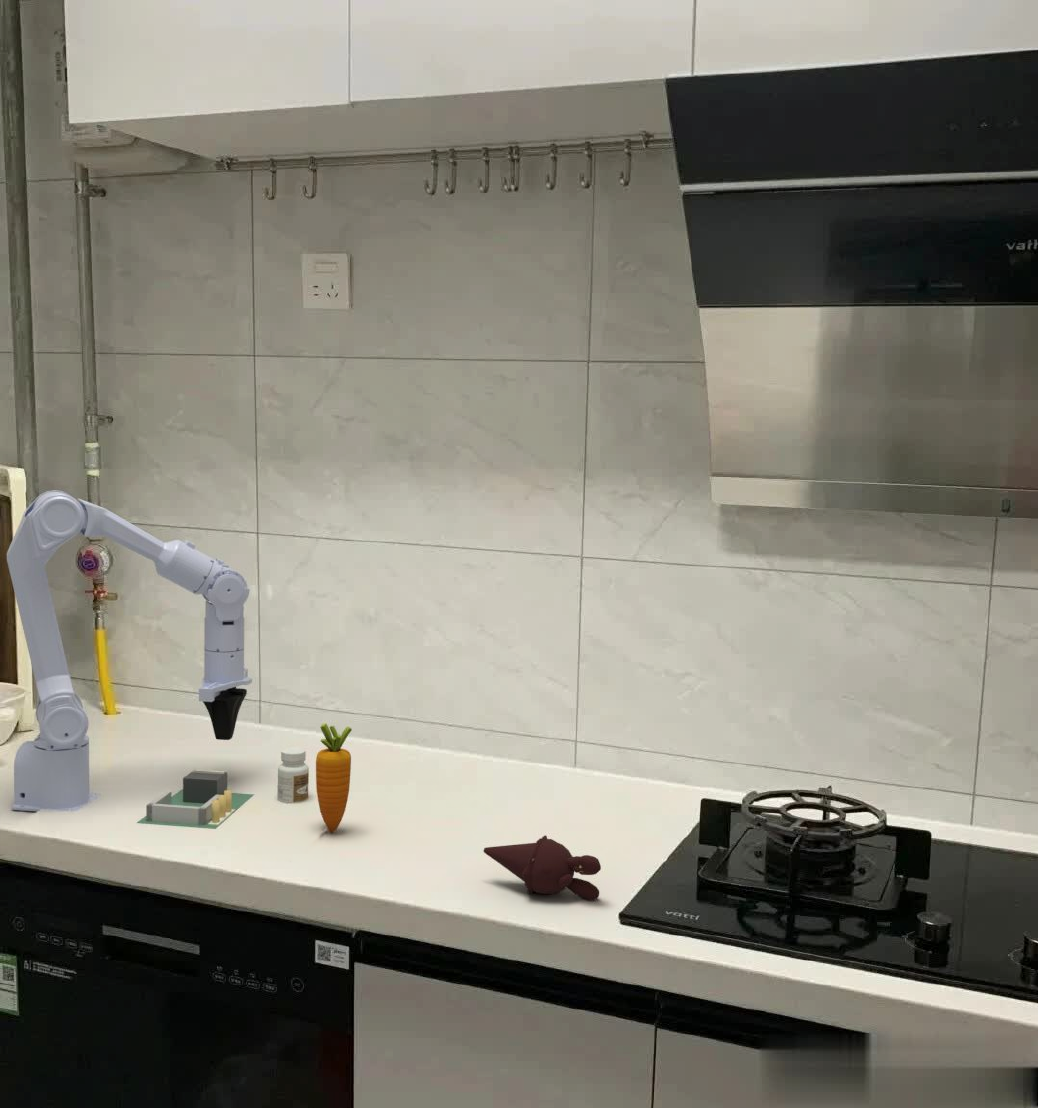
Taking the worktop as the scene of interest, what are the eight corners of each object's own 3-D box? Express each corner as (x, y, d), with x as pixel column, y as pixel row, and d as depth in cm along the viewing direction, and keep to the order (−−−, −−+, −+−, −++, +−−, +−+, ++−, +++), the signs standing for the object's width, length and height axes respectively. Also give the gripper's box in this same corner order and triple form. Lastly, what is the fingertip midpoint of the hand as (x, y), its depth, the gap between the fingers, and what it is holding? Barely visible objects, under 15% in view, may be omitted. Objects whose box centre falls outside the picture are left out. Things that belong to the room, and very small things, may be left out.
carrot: (356, 828, 158) (358, 720, 157) (341, 840, 154) (343, 729, 152) (323, 824, 160) (325, 717, 158) (307, 835, 155) (309, 725, 153)
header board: (136, 826, 156) (136, 800, 156) (181, 793, 171) (181, 769, 171) (215, 832, 155) (215, 806, 155) (254, 798, 170) (254, 774, 169)
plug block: (183, 802, 165) (183, 775, 165) (194, 793, 169) (194, 768, 169) (216, 804, 165) (217, 778, 164) (227, 795, 169) (227, 770, 168)
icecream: (470, 841, 137) (590, 874, 131) (496, 809, 143) (612, 839, 138) (470, 890, 139) (588, 924, 134) (496, 856, 146) (609, 888, 140)
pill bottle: (301, 808, 166) (302, 755, 165) (272, 805, 167) (273, 753, 166) (312, 799, 170) (313, 747, 170) (284, 796, 171) (285, 745, 170)
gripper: (232, 659, 164) (232, 753, 166) (266, 641, 178) (266, 727, 180) (184, 656, 165) (184, 750, 166) (222, 639, 179) (222, 725, 181)
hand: (224, 738), depth 173 cm, fingers closed
